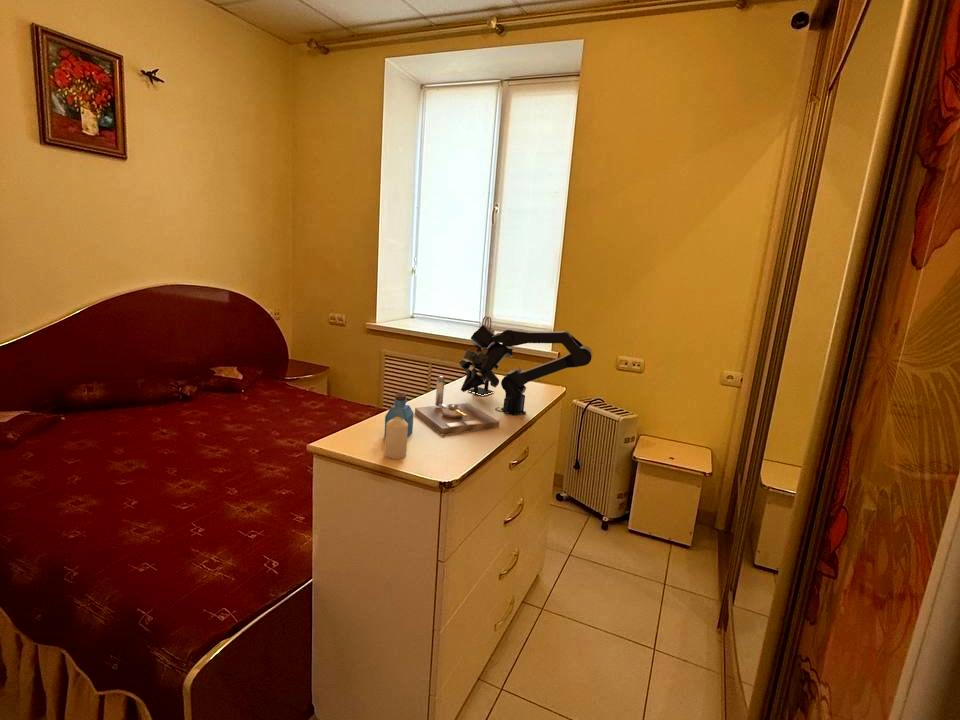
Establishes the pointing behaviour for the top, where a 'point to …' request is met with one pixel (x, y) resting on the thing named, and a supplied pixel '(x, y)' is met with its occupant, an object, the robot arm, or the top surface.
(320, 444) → the top surface
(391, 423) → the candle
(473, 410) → the stand
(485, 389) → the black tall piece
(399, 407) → the perfume bottle
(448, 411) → the metal post and dome
